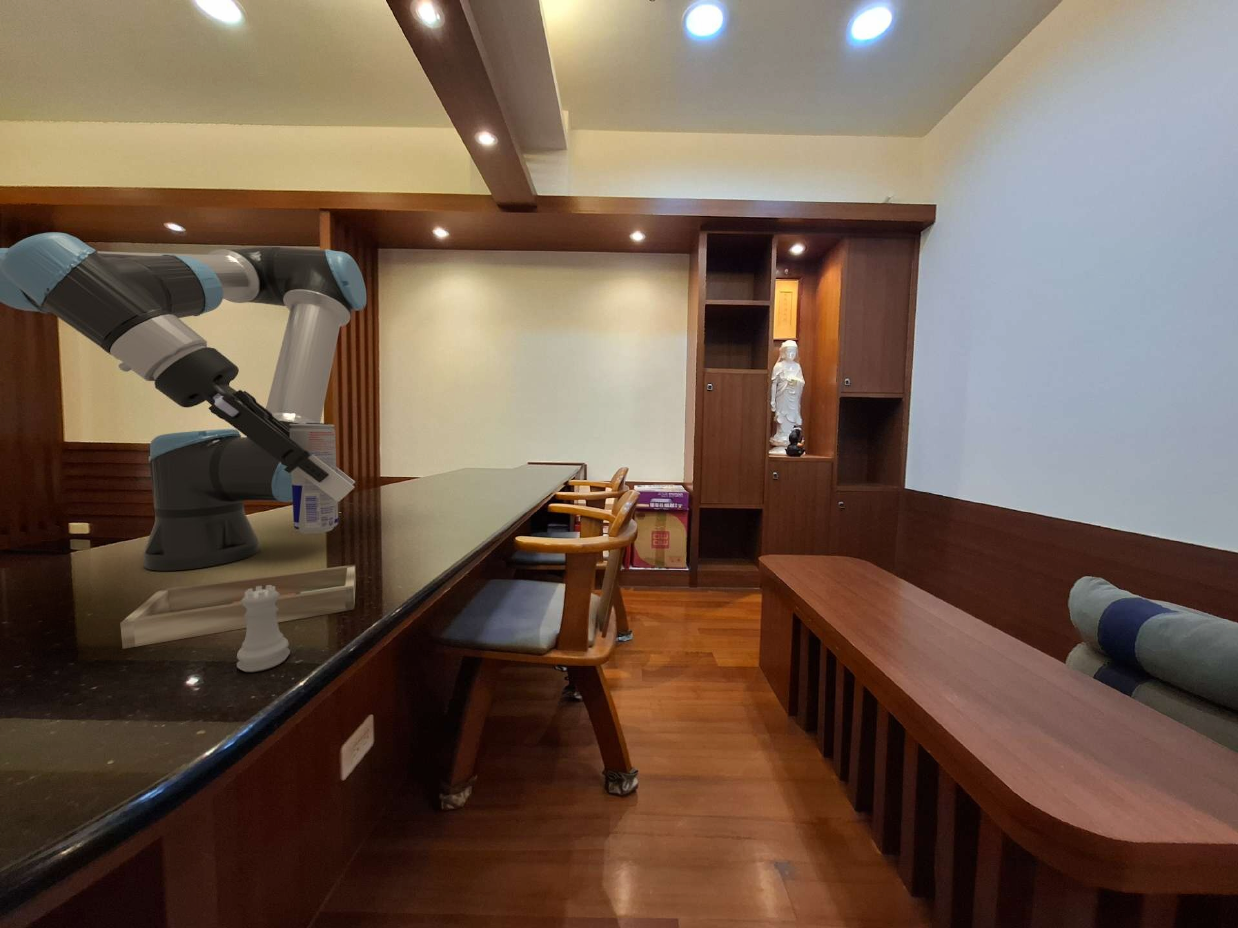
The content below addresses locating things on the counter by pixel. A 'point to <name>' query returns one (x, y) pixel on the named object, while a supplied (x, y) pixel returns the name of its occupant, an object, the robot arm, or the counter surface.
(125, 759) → the counter surface
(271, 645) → the rook chess piece
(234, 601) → the pads
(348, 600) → the wooden serving tray
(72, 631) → the counter surface
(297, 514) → the beverage can
